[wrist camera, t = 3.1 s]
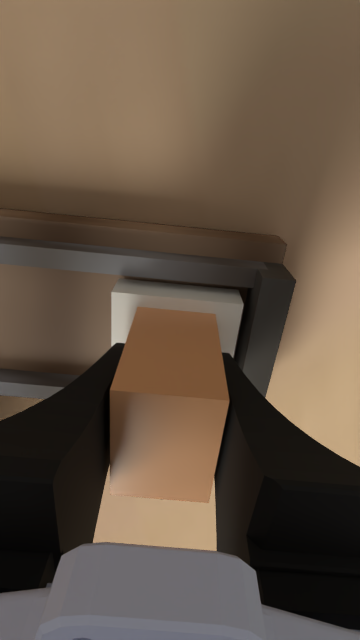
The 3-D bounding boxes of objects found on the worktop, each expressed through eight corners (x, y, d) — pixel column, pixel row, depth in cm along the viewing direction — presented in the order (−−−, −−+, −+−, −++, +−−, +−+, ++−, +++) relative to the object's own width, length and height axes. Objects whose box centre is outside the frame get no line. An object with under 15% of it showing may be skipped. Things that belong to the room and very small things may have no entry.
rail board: (-119, 364, 18) (-183, 407, 15) (-185, 189, 14) (-289, 201, 11) (242, 396, 19) (252, 445, 16) (278, 236, 15) (302, 258, 12)
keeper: (117, 376, 16) (78, 502, 10) (119, 278, 14) (68, 369, 8) (220, 385, 16) (238, 515, 10) (238, 289, 14) (273, 388, 8)
